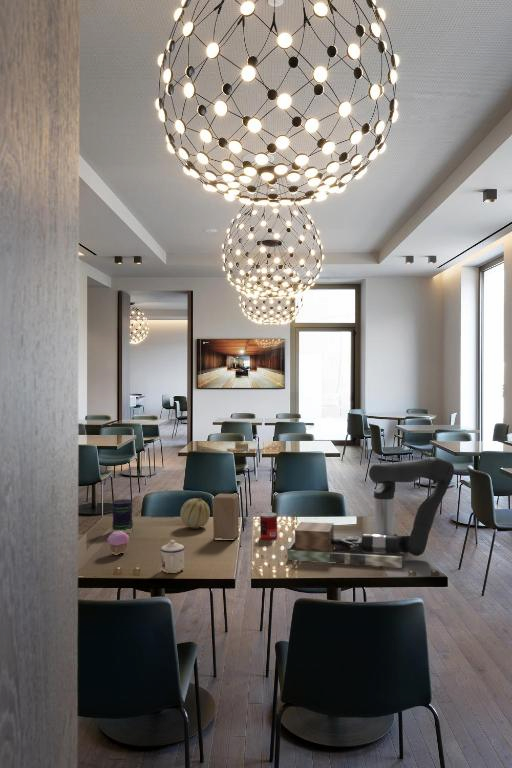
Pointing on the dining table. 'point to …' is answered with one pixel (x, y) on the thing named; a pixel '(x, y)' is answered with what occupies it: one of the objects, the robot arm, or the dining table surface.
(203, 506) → the cantaloupe
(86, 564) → the dining table surface
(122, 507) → the navy striped cylinder
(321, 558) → the tray
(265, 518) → the canned food
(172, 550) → the teacup with lid
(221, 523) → the block
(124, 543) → the cupcake
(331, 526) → the walnut block
